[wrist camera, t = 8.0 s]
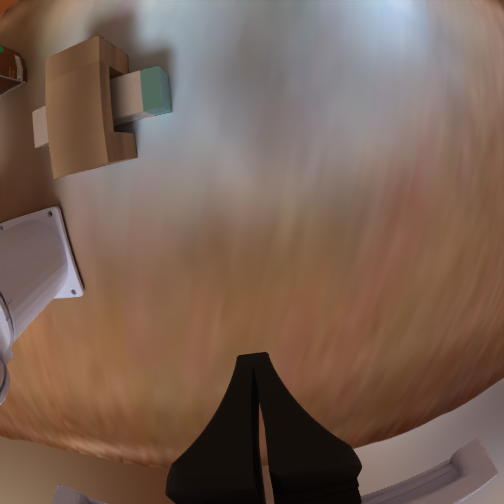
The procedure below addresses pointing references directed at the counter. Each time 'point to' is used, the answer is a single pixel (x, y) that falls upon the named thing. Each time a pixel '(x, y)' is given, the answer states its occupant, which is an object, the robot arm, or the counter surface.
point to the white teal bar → (124, 100)
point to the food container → (11, 70)
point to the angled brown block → (84, 108)
